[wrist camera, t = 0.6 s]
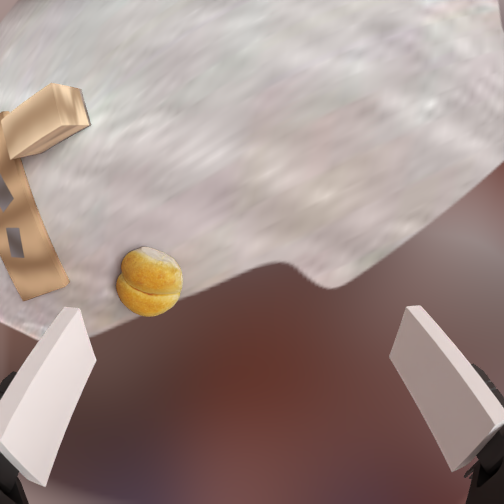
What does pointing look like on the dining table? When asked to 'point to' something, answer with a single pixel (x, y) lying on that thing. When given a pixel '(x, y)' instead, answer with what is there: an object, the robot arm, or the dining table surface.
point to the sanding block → (45, 120)
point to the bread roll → (149, 282)
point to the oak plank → (24, 232)
